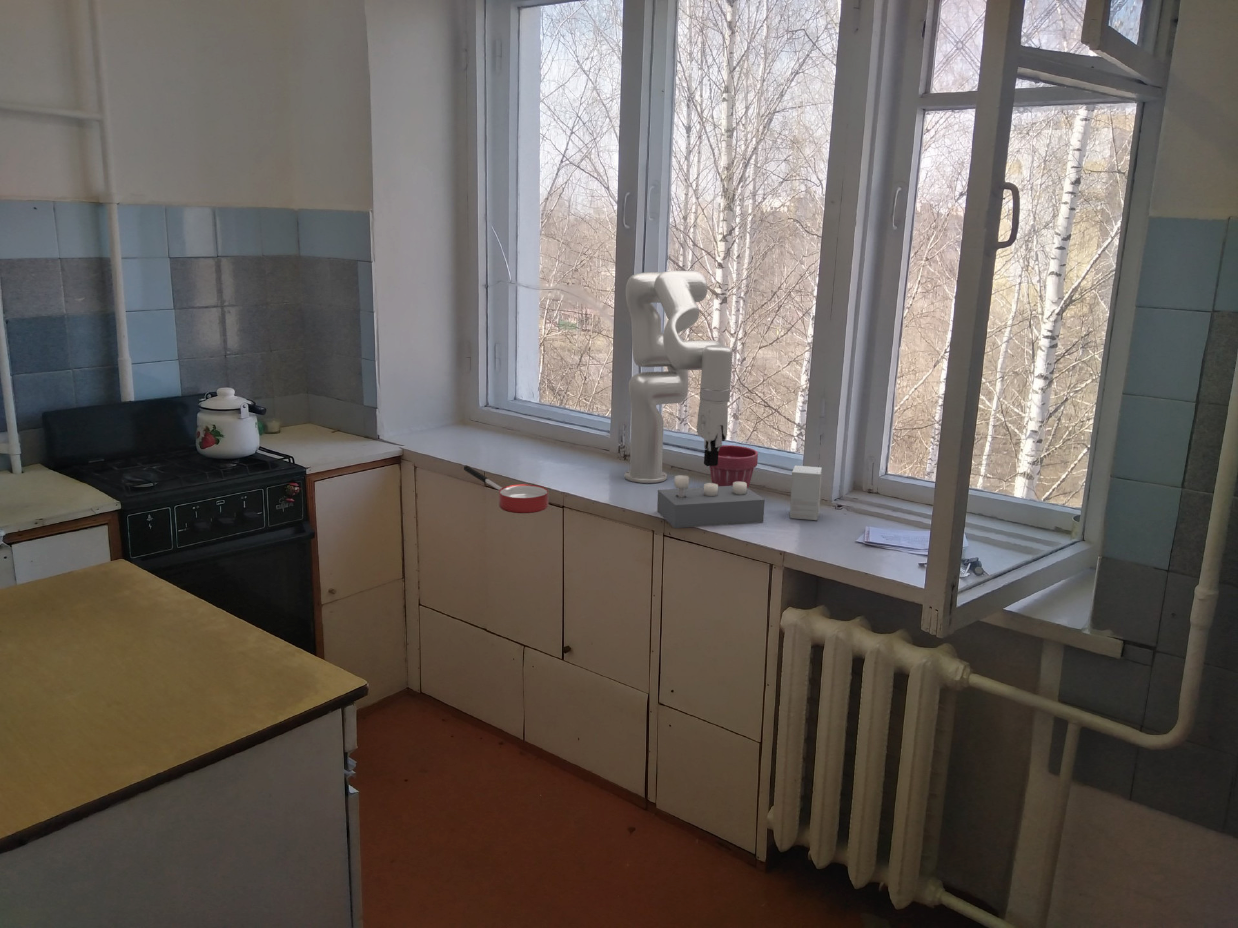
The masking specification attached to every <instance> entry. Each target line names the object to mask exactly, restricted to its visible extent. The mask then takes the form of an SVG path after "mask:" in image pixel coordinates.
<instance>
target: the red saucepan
mask: <svg viewBox="0 0 1238 928" xmlns="http://www.w3.org/2000/svg"><path fill="white" fill-rule="evenodd" d="M463 470H464V471H465V472H466V473H468V474H470V475H471V476H473V477H474V478H476V479H477V480H479V481H481V482H482V483H485V484H488V485H489V486H491V487H493V488H494V489H495V490H498V506H499V508H500V509H501V510H502V511H505V512H507V513H513V514H533V513H538V512H542V511H545V510H547V508H549V490H548V488H546V487H544V486H541V485H538V484H529V483H528V484H511V485H507V486H504V487H502V486H501V485H499V484H496V483H495V482H494V481H492V480H490V479H489V477H487V476H485V474H482V473H480V472H479V471H477V470H475V469H474V468H472V467H470V466H469V465H464V466H463Z"/></svg>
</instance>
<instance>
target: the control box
mask: <svg viewBox="0 0 1238 928" xmlns="http://www.w3.org/2000/svg"><path fill="white" fill-rule="evenodd" d="M732 491H733V486H718V495H717V496H706V495H704V486H702V487H701V486H700V487H688V488H685V493H684V498H678V488H670V489H668V488H667V489H658V490H657V504H656V505H657V506H656V507H657V509H656V513H658V514H659V515H660V516H661V517H662V518H663V519H664V520H665V521H666V522H667V523H668V524H670V525H671V527H672V528H673V529H680V528H681V529H682V528H683V529H684V528H695V527H696V528H697V527H710V526H711V527H713V526H727V525H728V526H729V525H739V524H741V525H743V524H755V523H757V524H758V523H764V518H765V517H764V515H765V499H764V498H763V497H761V495H758V494H757V493H756V492H754V491H752V490H751V489H750V488H747V491H746V494H742V495H740V494H734V493H733V492H732Z"/></svg>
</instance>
